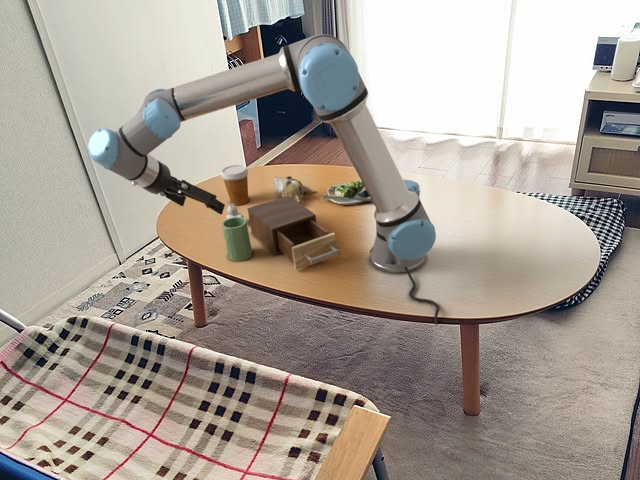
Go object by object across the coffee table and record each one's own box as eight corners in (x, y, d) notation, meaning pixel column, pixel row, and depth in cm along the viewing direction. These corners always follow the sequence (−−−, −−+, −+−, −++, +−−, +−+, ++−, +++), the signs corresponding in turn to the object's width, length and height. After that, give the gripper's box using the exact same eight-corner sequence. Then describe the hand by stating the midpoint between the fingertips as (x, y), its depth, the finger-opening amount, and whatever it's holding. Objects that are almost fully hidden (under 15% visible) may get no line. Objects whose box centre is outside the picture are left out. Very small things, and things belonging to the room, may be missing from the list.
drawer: (348, 263, 159) (346, 242, 155) (306, 279, 154) (303, 257, 150) (310, 233, 176) (307, 213, 171) (271, 246, 171) (267, 226, 167)
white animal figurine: (232, 219, 190) (228, 197, 186) (249, 222, 188) (245, 200, 183) (223, 226, 187) (219, 204, 182) (240, 229, 184) (235, 207, 179)
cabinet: (318, 240, 173) (315, 214, 168) (275, 255, 168) (271, 229, 163) (292, 219, 186) (289, 195, 181) (251, 233, 181) (247, 208, 176)
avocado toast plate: (325, 212, 188) (324, 199, 186) (317, 191, 203) (316, 179, 200) (381, 203, 190) (381, 191, 187) (369, 183, 204) (369, 171, 202)
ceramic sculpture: (283, 166, 201) (317, 176, 194) (285, 188, 206) (318, 198, 199) (264, 177, 194) (298, 188, 187) (266, 200, 200) (300, 211, 193)
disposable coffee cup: (258, 198, 202) (253, 166, 195) (241, 209, 196) (235, 176, 189) (237, 194, 207) (232, 162, 200) (221, 204, 201) (214, 172, 193)
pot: (255, 256, 169) (250, 223, 162) (233, 263, 166) (227, 230, 160) (246, 246, 174) (240, 214, 168) (225, 254, 172) (218, 221, 165)
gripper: (106, 180, 137) (164, 211, 156) (182, 196, 126) (235, 226, 145) (116, 152, 137) (172, 185, 156) (193, 164, 126) (243, 199, 145)
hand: (202, 205), depth 150 cm, fingers open, 13 cm apart
